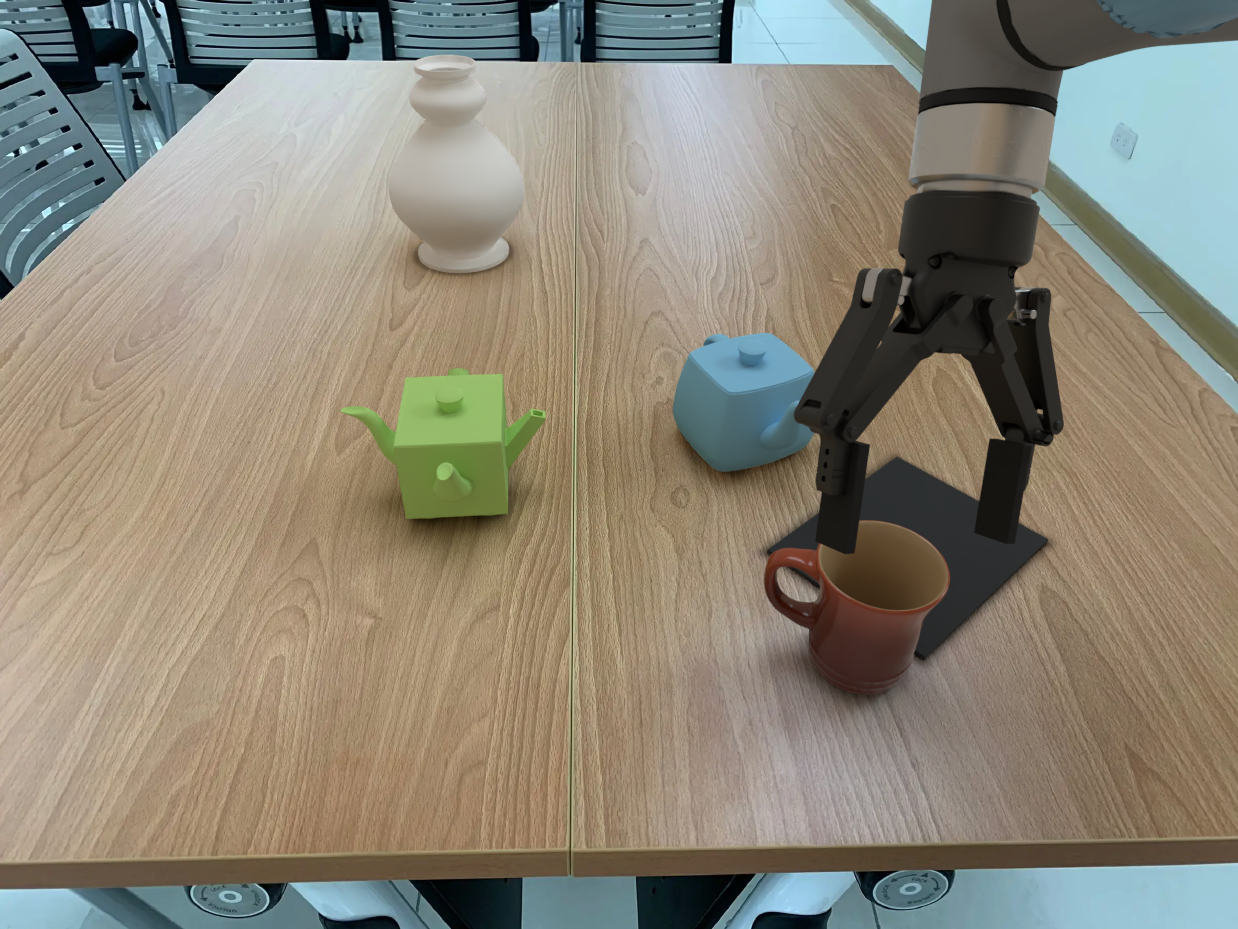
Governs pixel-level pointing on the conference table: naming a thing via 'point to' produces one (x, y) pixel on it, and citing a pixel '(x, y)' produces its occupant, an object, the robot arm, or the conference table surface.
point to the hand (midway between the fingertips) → (918, 543)
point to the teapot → (742, 401)
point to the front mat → (935, 542)
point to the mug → (864, 603)
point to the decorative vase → (455, 172)
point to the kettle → (452, 444)
